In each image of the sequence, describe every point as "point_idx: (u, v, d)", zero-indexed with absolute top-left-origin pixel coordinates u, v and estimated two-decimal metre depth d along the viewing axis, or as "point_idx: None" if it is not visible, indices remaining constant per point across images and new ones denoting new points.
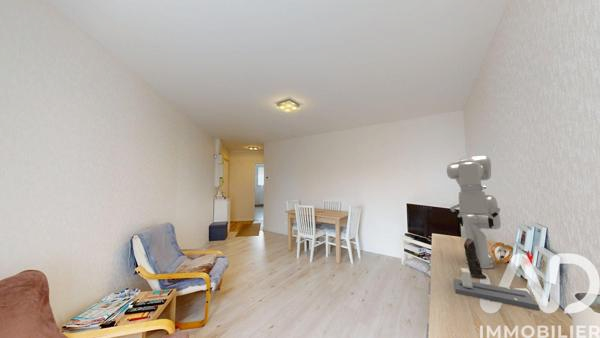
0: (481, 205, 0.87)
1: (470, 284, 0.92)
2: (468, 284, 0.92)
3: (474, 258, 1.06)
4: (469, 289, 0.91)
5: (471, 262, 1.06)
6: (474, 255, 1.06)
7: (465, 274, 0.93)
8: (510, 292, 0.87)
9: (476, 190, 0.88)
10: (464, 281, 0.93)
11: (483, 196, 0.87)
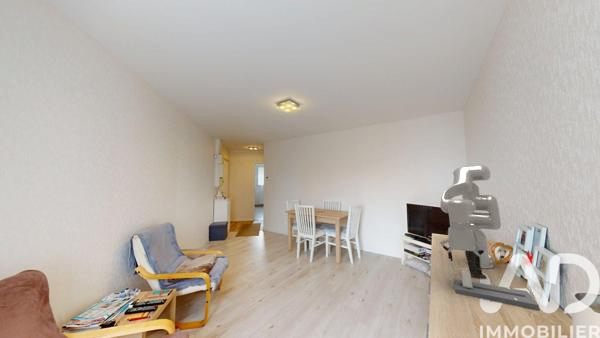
0: (469, 242, 0.93)
1: (470, 284, 0.92)
2: (468, 284, 0.92)
3: (474, 258, 1.06)
4: (469, 289, 0.91)
5: (471, 262, 1.06)
6: (474, 255, 1.06)
7: (465, 274, 0.93)
8: (510, 292, 0.87)
9: (465, 228, 0.93)
10: (464, 281, 0.93)
11: (471, 234, 0.93)
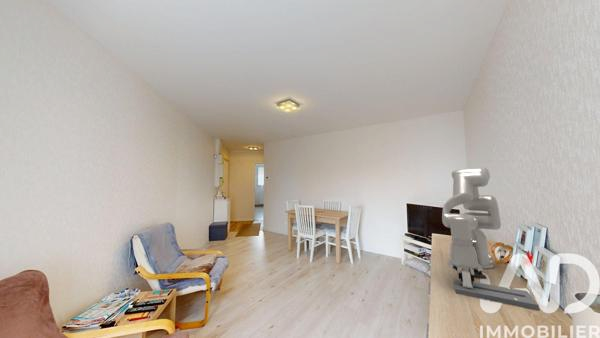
0: (471, 260, 0.92)
1: (470, 284, 0.92)
2: (468, 284, 0.92)
3: None
4: (469, 289, 0.91)
5: None
6: None
7: (464, 274, 0.93)
8: (510, 292, 0.87)
9: (467, 245, 0.92)
10: (464, 281, 0.93)
11: (473, 251, 0.92)
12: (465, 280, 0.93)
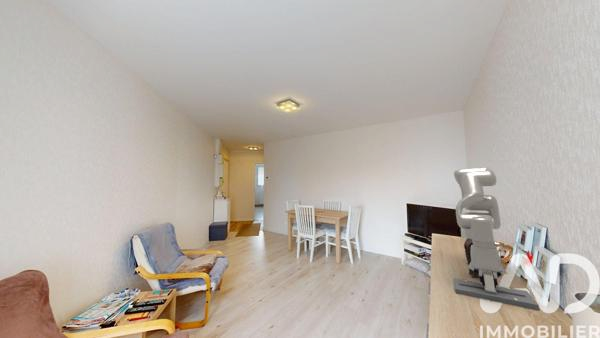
0: (494, 263, 0.88)
1: (493, 288, 0.87)
2: (491, 288, 0.88)
3: None
4: (469, 289, 0.91)
5: None
6: None
7: (487, 277, 0.89)
8: (510, 292, 0.87)
9: (490, 248, 0.88)
10: (486, 285, 0.89)
11: (496, 254, 0.87)
12: (488, 284, 0.88)
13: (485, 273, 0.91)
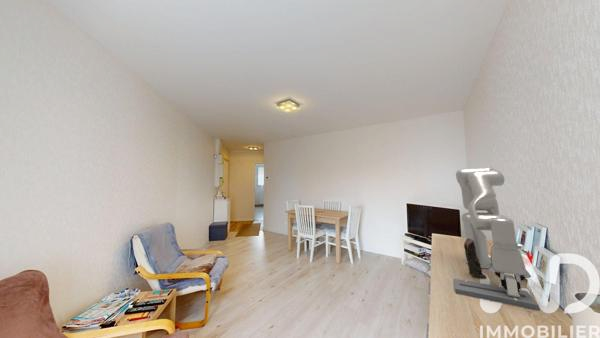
0: (518, 266, 0.84)
1: (516, 292, 0.83)
2: (514, 292, 0.84)
3: (474, 258, 1.06)
4: (469, 289, 0.91)
5: (471, 262, 1.06)
6: (474, 255, 1.06)
7: (509, 281, 0.85)
8: None
9: (513, 250, 0.84)
10: (509, 289, 0.84)
11: (520, 256, 0.83)
12: (510, 288, 0.84)
13: (507, 276, 0.87)
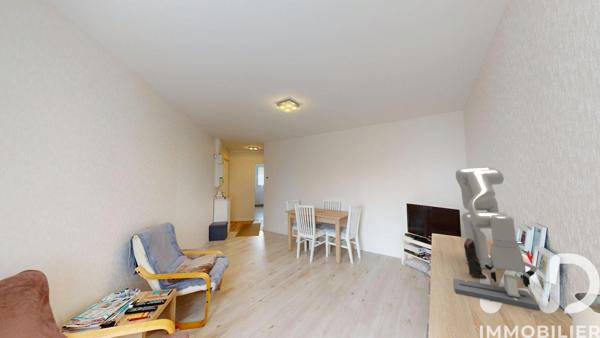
0: (517, 263, 0.84)
1: (516, 292, 0.83)
2: (514, 292, 0.84)
3: (474, 258, 1.06)
4: (469, 289, 0.91)
5: (471, 262, 1.06)
6: (474, 255, 1.06)
7: (510, 281, 0.84)
8: None
9: (512, 247, 0.84)
10: (509, 289, 0.84)
11: (519, 254, 0.84)
12: (510, 288, 0.84)
13: (507, 276, 0.86)
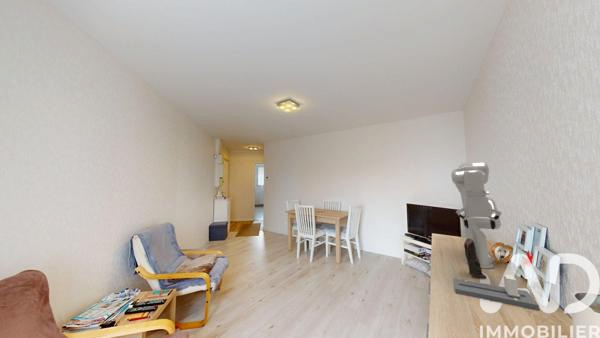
0: (485, 209, 0.97)
1: (516, 292, 0.83)
2: (514, 292, 0.84)
3: (474, 258, 1.06)
4: (469, 289, 0.91)
5: (471, 262, 1.06)
6: (474, 255, 1.06)
7: (510, 281, 0.84)
8: None
9: (481, 196, 0.97)
10: (509, 289, 0.84)
11: (487, 201, 0.97)
12: (510, 288, 0.84)
13: (507, 276, 0.86)
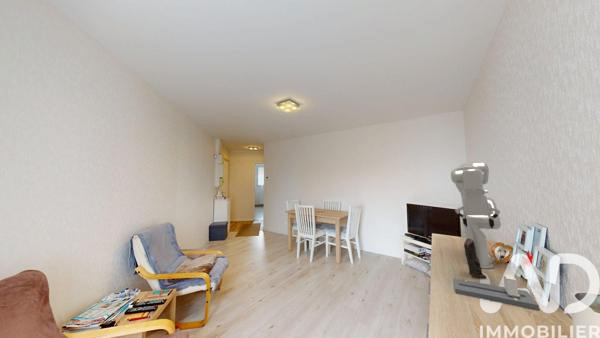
0: (483, 207, 0.98)
1: (516, 292, 0.83)
2: (514, 292, 0.84)
3: (474, 258, 1.06)
4: (469, 289, 0.91)
5: (471, 262, 1.06)
6: (474, 255, 1.06)
7: (510, 281, 0.84)
8: None
9: (479, 194, 0.98)
10: (509, 289, 0.84)
11: (485, 199, 0.98)
12: (510, 288, 0.84)
13: (507, 276, 0.86)
